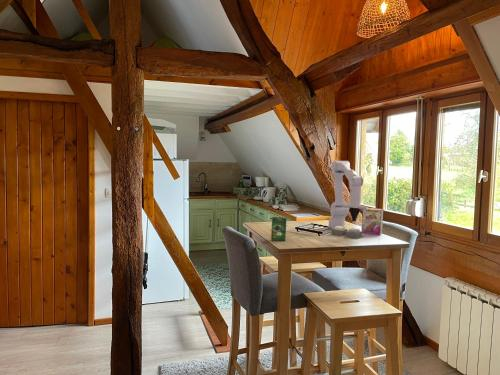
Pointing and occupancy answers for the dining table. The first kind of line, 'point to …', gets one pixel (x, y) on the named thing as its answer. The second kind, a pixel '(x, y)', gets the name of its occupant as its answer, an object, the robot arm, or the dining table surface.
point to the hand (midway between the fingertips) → (354, 221)
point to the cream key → (339, 228)
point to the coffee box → (278, 229)
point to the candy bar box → (372, 221)
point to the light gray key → (354, 230)
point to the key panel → (347, 234)
